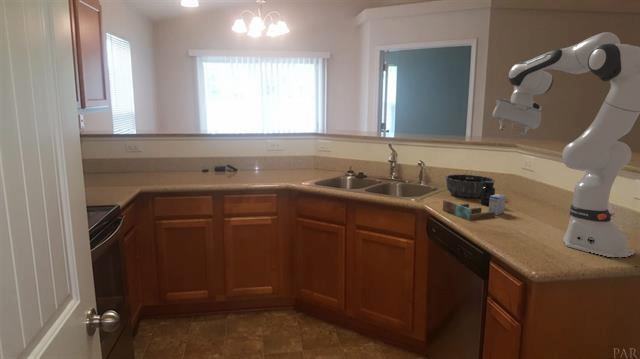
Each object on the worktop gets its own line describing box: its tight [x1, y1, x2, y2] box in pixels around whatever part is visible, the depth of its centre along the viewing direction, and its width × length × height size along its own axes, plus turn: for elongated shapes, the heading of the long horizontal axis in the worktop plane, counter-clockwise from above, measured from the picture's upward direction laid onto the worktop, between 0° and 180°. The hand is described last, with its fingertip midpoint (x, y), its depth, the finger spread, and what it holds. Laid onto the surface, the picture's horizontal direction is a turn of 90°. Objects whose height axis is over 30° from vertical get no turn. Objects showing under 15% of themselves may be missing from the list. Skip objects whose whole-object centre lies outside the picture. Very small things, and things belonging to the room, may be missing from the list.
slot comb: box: [442, 199, 496, 221], centre depth 200 cm, size 18×15×5 cm
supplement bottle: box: [479, 181, 496, 207], centre depth 218 cm, size 7×7×12 cm
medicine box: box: [487, 193, 506, 216], centre depth 202 cm, size 8×4×9 cm, turn 135°
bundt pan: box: [445, 174, 496, 199], centre depth 241 cm, size 26×26×10 cm
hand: (512, 132), depth 189 cm, fingers open, 8 cm apart
